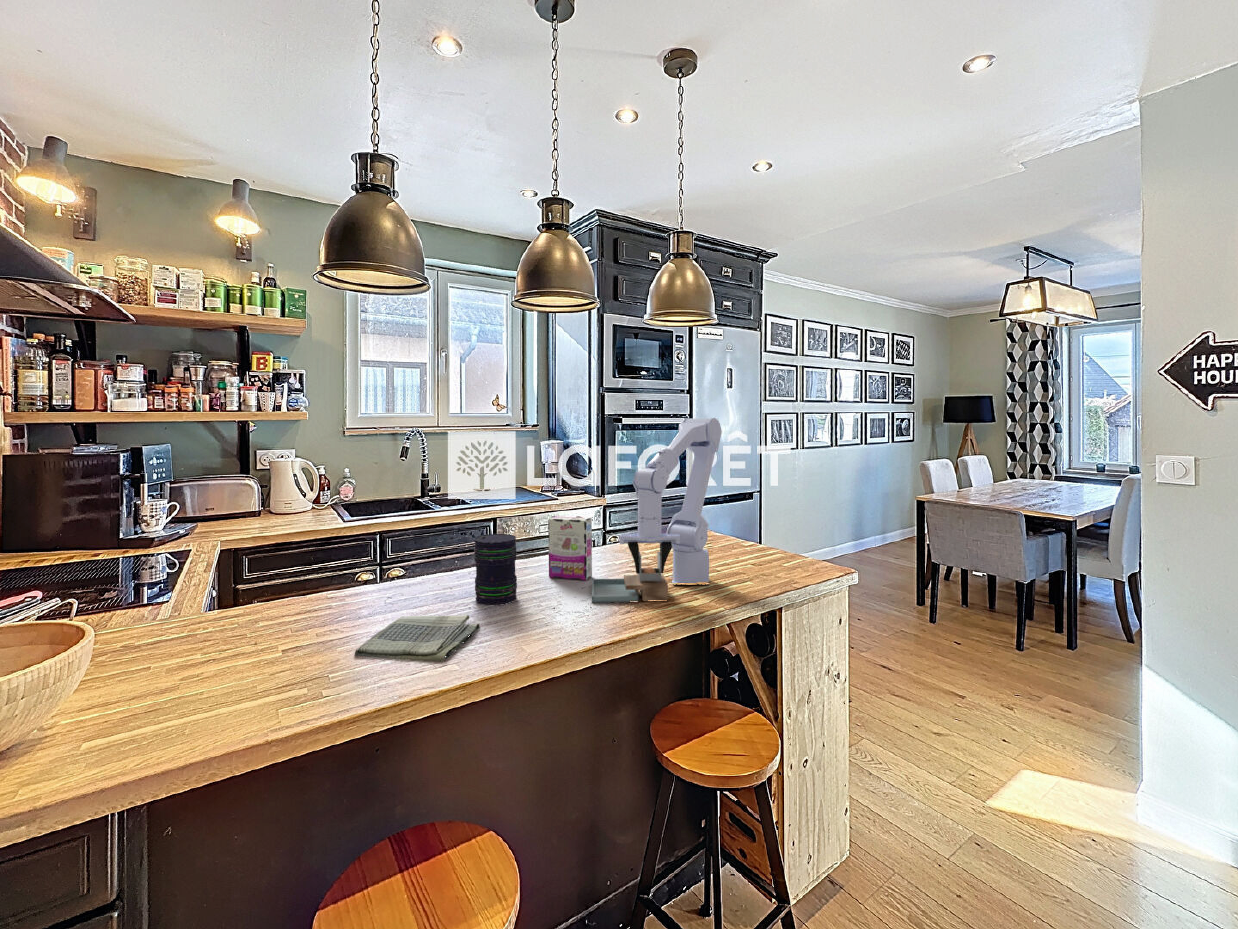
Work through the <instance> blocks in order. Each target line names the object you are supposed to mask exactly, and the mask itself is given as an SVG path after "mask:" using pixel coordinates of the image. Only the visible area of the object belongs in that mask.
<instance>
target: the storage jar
mask: <svg viewBox="0 0 1238 929" xmlns="http://www.w3.org/2000/svg"><path fill="white" fill-rule="evenodd" d="M516 541H517V537H516V535H513V534H509V533H508V534H507V533H492V534H491V533H489V534H483V535H479V536H476V537H474V543H475V544H474V550H473V552H474V562H475V575H476V577H475V578H474V591H475V602H476V601H477V602H478V603H477V602H476V603H477V604H479V603H480V604H479V605H481V604H484V605H483V606H489V605H495V606H502V605H501V604H504V605H507V604H506V603H508V604H510V603H509V602H511V603H513V602H512V601H514V602H515V601H516V600H517V588H518V583H517V582H518V581H517V580H518V578H517V575H516V560H517V558H518V557H517V543H516Z"/></svg>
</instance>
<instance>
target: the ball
mask: <svg viewBox="0 0 1238 929" xmlns="http://www.w3.org/2000/svg"><path fill="white" fill-rule="evenodd" d="M644 568H645V569H644V571H643V573H656V571H655V570H654V569H653V568H654V567H652V566H646V567H644Z"/></svg>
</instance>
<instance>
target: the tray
mask: <svg viewBox="0 0 1238 929" xmlns="http://www.w3.org/2000/svg"><path fill="white" fill-rule="evenodd" d="M630 601H639V593H638V590H626V588H625V583H624V578H592V579H591V604H610V603H609V602H630Z"/></svg>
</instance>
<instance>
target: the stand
mask: <svg viewBox="0 0 1238 929" xmlns="http://www.w3.org/2000/svg"><path fill="white" fill-rule="evenodd" d="M623 579H624V583H625V588H626V590H637V591H639V594H640V593H641V594H640V597H641V596H642V598H641V601H642V600H643V601H648V600H668V601H669V584H668V582H667V580H666V578H665V576H664V574H661V581H639V577H638V574H635V575H634V574H630V575H629V574H628V575H625V574H624V575H623Z"/></svg>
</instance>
